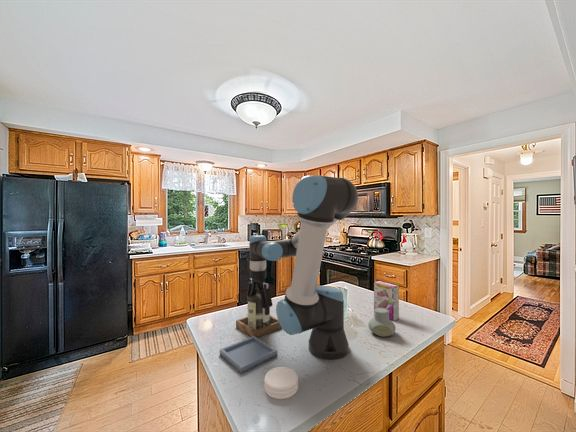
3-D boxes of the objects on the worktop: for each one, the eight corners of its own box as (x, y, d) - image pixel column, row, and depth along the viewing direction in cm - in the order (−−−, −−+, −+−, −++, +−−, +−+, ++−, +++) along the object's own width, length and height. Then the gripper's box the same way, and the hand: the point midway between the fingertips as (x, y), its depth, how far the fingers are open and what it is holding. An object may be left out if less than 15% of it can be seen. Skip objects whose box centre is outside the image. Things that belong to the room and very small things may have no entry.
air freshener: (368, 336, 104) (368, 312, 104) (368, 327, 112) (368, 305, 111) (396, 339, 100) (396, 315, 100) (394, 330, 108) (394, 307, 108)
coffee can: (272, 323, 117) (272, 293, 117) (266, 333, 107) (266, 300, 107) (252, 321, 119) (251, 292, 119) (244, 331, 109) (243, 299, 109)
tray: (277, 355, 90) (277, 350, 90) (241, 373, 80) (241, 367, 80) (253, 340, 101) (253, 335, 101) (219, 354, 91) (219, 349, 91)
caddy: (282, 327, 112) (282, 321, 112) (254, 338, 102) (254, 331, 102) (262, 317, 124) (262, 311, 124) (236, 327, 114) (236, 320, 114)
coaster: (260, 398, 69) (260, 386, 69) (268, 375, 79) (268, 364, 79) (296, 402, 68) (295, 389, 68) (300, 378, 78) (299, 367, 78)
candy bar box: (373, 314, 126) (373, 282, 126) (379, 311, 129) (379, 280, 129) (393, 321, 117) (393, 287, 117) (399, 319, 120) (399, 285, 120)
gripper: (280, 271, 107) (281, 323, 107) (251, 264, 124) (251, 309, 124) (266, 274, 102) (267, 328, 102) (238, 266, 119) (238, 313, 119)
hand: (258, 317), depth 113 cm, fingers closed on coffee can, 10 cm apart
